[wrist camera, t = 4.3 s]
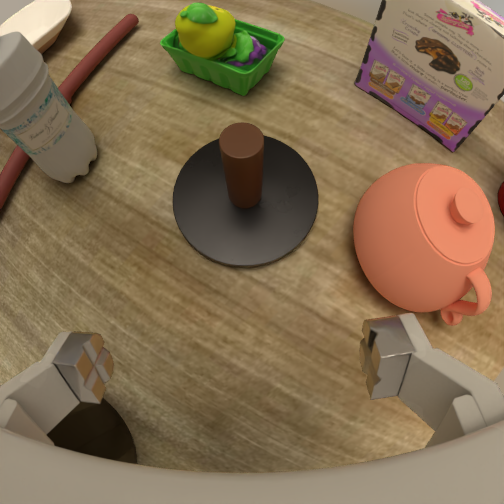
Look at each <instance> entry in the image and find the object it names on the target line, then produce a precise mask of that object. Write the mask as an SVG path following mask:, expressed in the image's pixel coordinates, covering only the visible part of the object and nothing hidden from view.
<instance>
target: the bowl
mask: <svg viewBox="0 0 504 504" xmlns="http://www.w3.org/2000/svg"><path fill="white" fill-rule="evenodd" d="M71 9H72V5H71V2H70V0H35V1H33V2H32V3H31V4H29V5H27V6H26V7H24V8H23V9H21V10H20V11H19V12H17V13H16V14H14V15H13V16H12V17H10V18H9V19H8V20H6V21H5V22H4V23H3V24H2V25H0V36H3V35H6V34H8V33H11V32H20V33H21V34H22V35H23V36H24V37H25V38H26V39H27V40H28V41H29V42H30V43H31V44H32V46H33V47H34V48H35V49H36V50H37V51H38V52H40V53H41V54H42V53H43V52H45V51H46V50H47V49H48V48H49V47H50V46H51V45H52V44H53V43H54V42H55V41H56V39H57V37H58V35H59V33H60V31H61V29H62V28H63V26H64V24H65V22H66V20H67V18H68V17H69V15H70V12H71Z"/></svg>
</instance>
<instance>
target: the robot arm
mask: <svg viewBox="0 0 504 504" xmlns="http://www.w3.org/2000/svg"><path fill="white" fill-rule="evenodd" d="M362 332H363V335H364V338H363V339H362V340H361V342H360V363H361V367H362V371H363V372H364V373H365V374H367V379H366V385H367V389H368V392H369V396H370V399H371V400H373V399H380V398H386V397H392V396H398V398H399V399H400V400H401V401H403V402H404V403H405V404H406V405H407V406H408V407H409V408H410V409H411V410H412V411H414V412H415V413H416V414H417V415H418V416H419V417H420V418H421V419H422V420H423V421H424V422H426V423H427V424H428V425H429V426H430V427H431V428H432V429H433V430H434V431H435V433H434V434H433V436H432V437H431V439H430V441H429V442H428V444H427V445H426V447H425V448H423V449H419V450H416V451H412V452H408V453H404V454H400V455H395V456H391V457H387V458H382V459H377V460H372V461H367V462H361V463H355V464H349V465H342V466H335V467H327V468H319V469H309V470H297V471H282V472H255V473H233V472H205V471H190V470H178V469H168V468H160V467H152V466H145V465H138V464H132V463H126V462H120V461H115V460H110V459H105V458H100V457H96V456H91V455H87V454H83V453H79V452H75V451H71V450H68V449H64V448H61V447H57V446H55V445H54V443H53V442H52V441H51V440H50V438H49V437H48V436H47V434H48V433H49V432H50V431H51V430H52V429H53V428H54V427H55V426H56V425H57V424H58V423H59V422H60V421H61V420H62V419H63V418H64V417H65V416H66V415H67V414H69V413H70V412H71V411H72V410H73V409H74V408H75V407H76V406H77V405H78V404H79V403H80V402H88V403H96V404H100V403H101V400H102V398H103V395H104V393H105V391H106V387H105V383H106V382H107V381H109V380H110V379H111V377H112V374H113V368H114V363H113V358H112V356H111V354H110V352H109V351H108V350H106V349H105V348H104V347H103V346H104V343H105V342H104V340H103V338H102V336H101V334H98V333H90V332H75V331H74V332H71V331H62V332H60V333H59V334H58V335H57V337H56V338H55V340H54V341H53V343H52V344H51V346H50V347H49V349H48V350H47V352H46V353H45V355H44V356H43V358H42V359H41V361H40V362H36V363H34V364H32V365H31V366H29V367H28V368H26V369H25V370H23V371H22V372H20V373H19V374H17V375H16V376H14V377H13V378H11V379H10V380H8V381H7V382H5V383H4V384H2V385H1V386H0V504H504V396H503V394H502V392H501V390H500V388H499V387H498V385H497V383H496V382H494V381H492V380H491V379H489V378H487V377H486V376H484V375H482V374H481V373H479V372H477V371H475V370H474V369H472V368H470V367H469V366H467V365H465V364H464V363H462V362H460V361H459V360H457V359H455V358H454V357H452V356H450V355H449V354H447V353H445V352H444V351H442V350H440V349H438V348H435V349H433V347H432V345H431V344H430V342H429V340H428V338H427V336H426V334H425V333H424V331H423V329H422V327H421V325H420V324H419V322H418V320H417V318H416V317H415V315H414V314H413V313H406V314H400V315H396V316H389V317H382V318H375V319H368V320H364V322H363V327H362ZM79 401H80V402H79Z"/></svg>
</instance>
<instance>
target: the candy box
mask: <svg viewBox="0 0 504 504" xmlns="http://www.w3.org/2000/svg"><path fill="white" fill-rule="evenodd" d="M354 84H355V85H356V86H358V87H359V88H361V89H362V90H364V91H366V92H367V93H369V94H371V95H373V96H374V97H376V98H378V99H379V100H381V101H382V102H384V103H385V104H387V105H388V106H390V107H392V108H393V109H395V110H396V111H398V112H399V113H401V114H402V115H403V116H405V117H407V118H408V119H409V120H411V121H412V122H414V123H415V124H417V125H418V126H419V127H421V128H422V129H424V130H425V131H426V132H428V133H429V134H431V135H432V136H433V137H435V138H436V139H437V140H438V141H440V142H441V143H442V144H444V145H445V146H446V147H447V148H449V149H450V150H451V151H452V152H454V151H455V150H456V149H457V148H458V147H459V146H460V145H461V144H462V143H463V142H464V140H465V139H466V138H467V137H468V136H469V135H470V134H471V132H472V131H473V130H474V129H475V128H476V127H477V125H478V124H479V123H480V122H481V121H482V119H484V117H485V116H486V115H487V114H488V113H489V111H490V110H491V109H492V108H493V107H494V105H495V104H496V103H497V102H498V101H499V99H500V98H501V97H502V96H503V95H504V18H503V17H501V16H500V15H499V14H497V13H496V12H495V11H493V10H492V9H490V8H489V7H488V6H486V5H485V4H483V3H482V2H480V1H479V0H382V2H381V5H380V8H379V11H378V15H377V18H376V21H375V24H374V27H373V30H372V33H371V37H370V39H369V43H368V46H367V49H366V52H365V55H364V58H363V61H362V64H361V67H360V70H359V73H358V75H357V78H356V80H355V82H354Z"/></svg>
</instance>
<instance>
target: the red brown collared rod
mask: <svg viewBox="0 0 504 504" xmlns="http://www.w3.org/2000/svg"><path fill="white" fill-rule="evenodd" d="M138 22H139V21H138V18H137V16H136V15H134V14H128V15H127V16H125V17H124V18H123V19H122V20H121V21H120V22H119V23H118V24H117V25H116V26H115V27H114V28H113V29H111V30H110V31H109V32H108V33H107V34H106V35H105V36H104V37H103V38H102V39H101V40H100V41H99V42H98V43H97V44H96V45H95V46H94V48H93V49H92V50H91V51H90V52H89V53H88V54H87V55H86V56H85V57H84V58H83V59H82V60H81V62H80V63H79V64H78V65H77V66H76V67H75V68H74V69H73V71H72V72H71V73H70V74H69V75H68V77H67V78H66V79H65V80H64V81H63V83H62V84H61V85H60V86H59V87H58V89H59V91H60V92H61V94H62V95H63V96H64V98H65V99H66V101H67V102H68V103H69V104H70V103H71V102H72V99H71V97H72V95H73V94H74V93H75V91H76V90H77V89H78V88H79V86H80V85H81V84H82V83H83V82H84V80H85V79H86V78H87V77H88V76H89V74H90V73H91V72H92V71H93V70H94V69H95V67H96V66H97V65H98V64H99V63H100V62H101V61H102V60H103V59H104V57H105V56H106V55H107V54H108V53H109V52H110V51H111V50H112V49H113V48H114V47H115V46H116V45H117V44H118V43H119V42H120V41H121V40H122V39H123V38H124V37H125V36H126V35H127V34H128V33H129V32H130V31H131V30H132V29H133V28H134V27H135V26H136V25H137V24H138ZM29 157H30V156H29V155H28V154H27V153H26V152H25V151H23V150H22V149H21V148H20V147H19V146H18V145H17V147H16V148H15V150H14V151H13V153H12V155H11V156H10V158H9V160H8V161H7V163H6V165H5V167H4V168H3V170H2V172H1V174H0V211H1V209H2V207H3V204H4V203H5V201H6V199H7V197H8V195H9V193H10V191H11V189H12V187H13V185H14V183H15V182H16V180H17V178H18V176H19V174H20V173H21V171H22V169H23V168H24V166H25V164H26V162H27V161H28V159H29Z"/></svg>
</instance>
